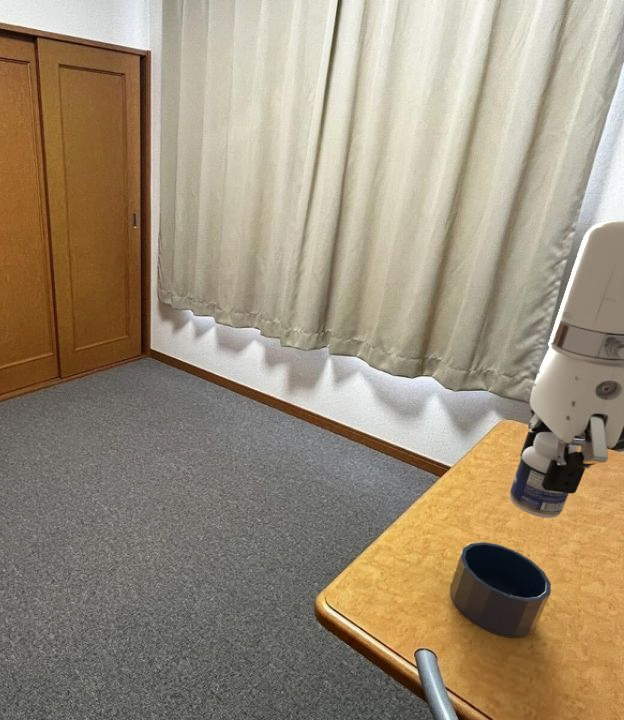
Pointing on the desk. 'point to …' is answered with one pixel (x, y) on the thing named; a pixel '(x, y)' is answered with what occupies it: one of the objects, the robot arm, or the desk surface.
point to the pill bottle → (538, 478)
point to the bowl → (499, 589)
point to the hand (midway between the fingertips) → (546, 473)
